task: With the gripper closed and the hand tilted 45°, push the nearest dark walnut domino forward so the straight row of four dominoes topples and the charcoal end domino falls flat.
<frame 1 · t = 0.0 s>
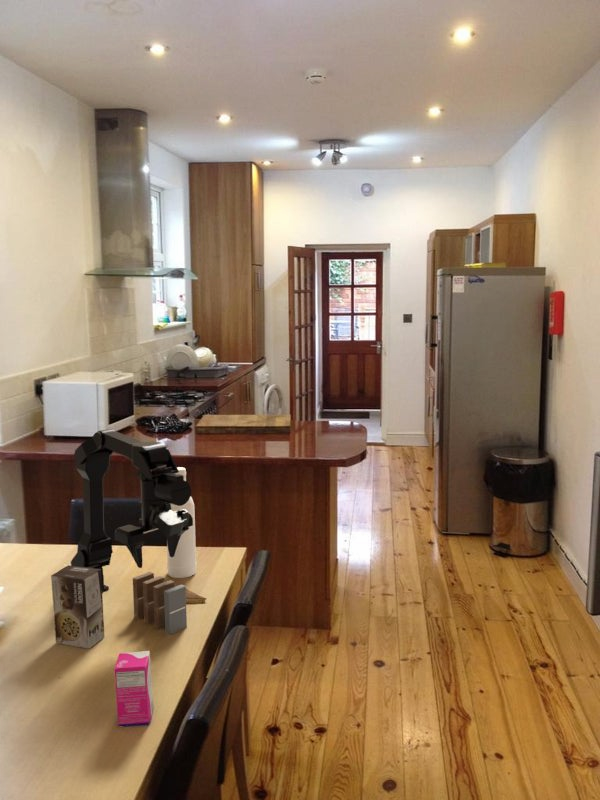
hand: (156, 562, 166), 15 cm above the table, tool pointing down, fingers open, 9 cm apart
supplement box: (135, 718, 129), on the table
domino 4: (176, 629, 164), on the table
coffee box: (80, 640, 159), on the table
domino 3: (165, 624, 166), on the table
domino 2: (154, 619, 169), on the table
bottle: (182, 573, 198), on the table
domino 1: (144, 614, 172), on the table
shard: (184, 599, 182), on the table
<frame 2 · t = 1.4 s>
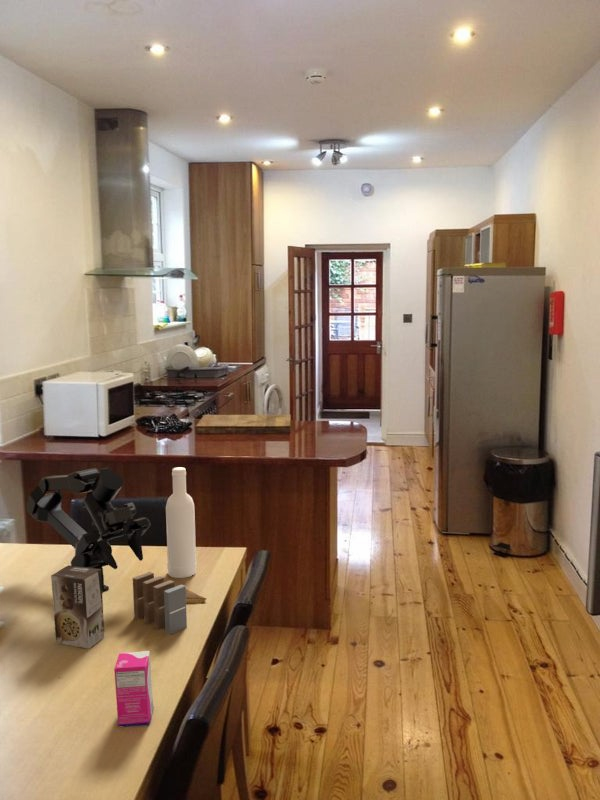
hand: (129, 564, 174), 11 cm above the table, tool tilted 45°, fingers open, 7 cm apart
nothing on the table moved.
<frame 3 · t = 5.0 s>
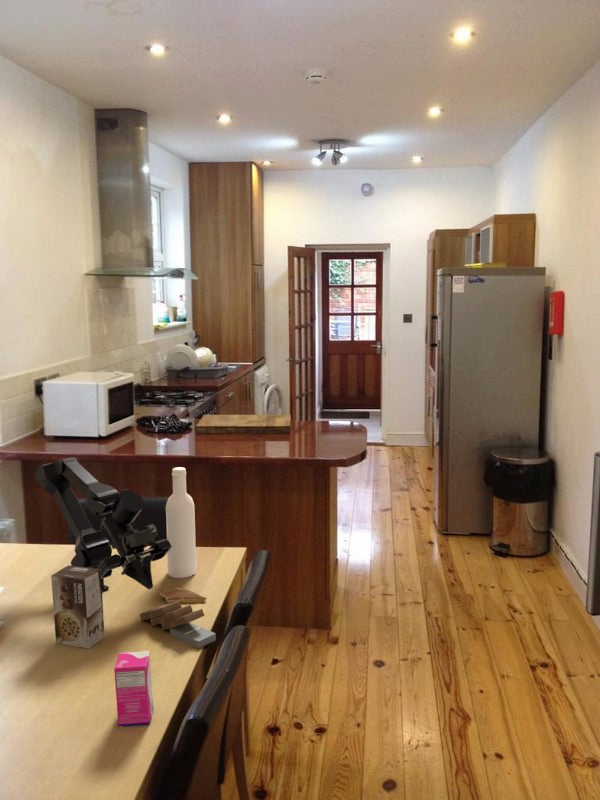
hand: (150, 588, 169), 8 cm above the table, tool tilted 45°, fingers closed
domino 4: (178, 627, 163), point 1 cm above the table, tilted 89°, touching domino 3
domino 3: (170, 623, 165), point 1 cm above the table, tilted 63°, touching domino 2, domino 4
domino 2: (159, 619, 168), point 1 cm above the table, tilted 63°, touching domino 3
domino 1: (148, 613, 170), point 1 cm above the table, tilted 65°
everything else where it was.
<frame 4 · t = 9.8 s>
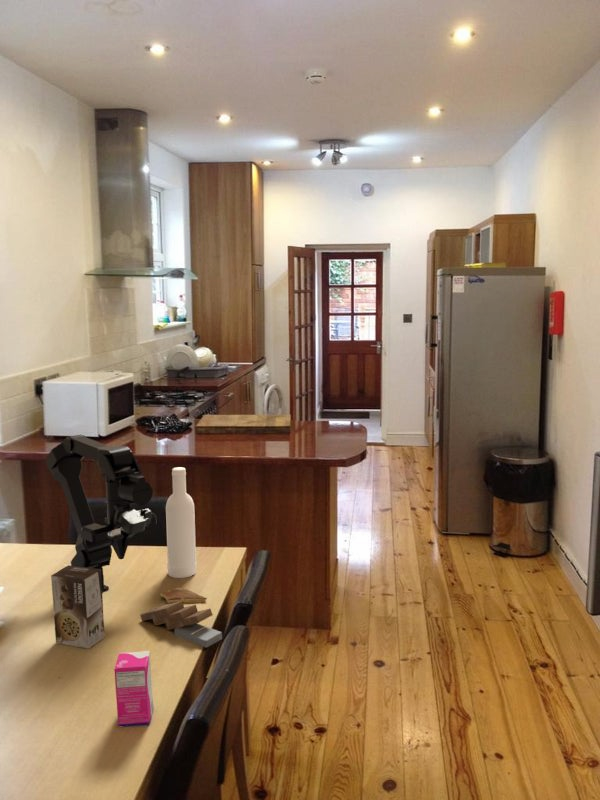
hand: (121, 558, 176), 12 cm above the table, tool pointing down, fingers closed
domino 3: (173, 622, 165), point 1 cm above the table, tilted 67°, touching domino 2, domino 4
domino 2: (161, 618, 168), point 1 cm above the table, tilted 66°, touching domino 1, domino 3
domino 1: (149, 614, 170), point 1 cm above the table, tilted 66°, touching domino 2
at the end: domino 4 tilted 89°; domino 1 tilted 66° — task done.
